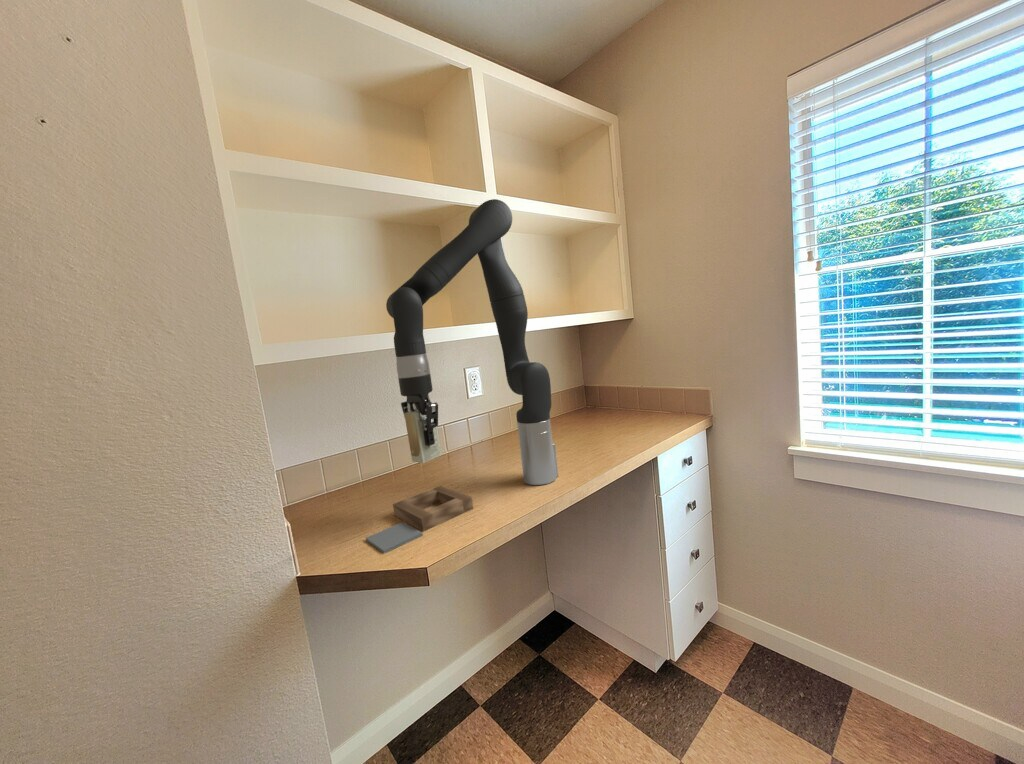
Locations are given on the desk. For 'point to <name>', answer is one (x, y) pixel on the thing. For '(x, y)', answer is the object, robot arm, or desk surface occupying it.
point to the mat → (393, 537)
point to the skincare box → (421, 439)
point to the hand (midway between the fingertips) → (424, 443)
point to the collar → (425, 520)
